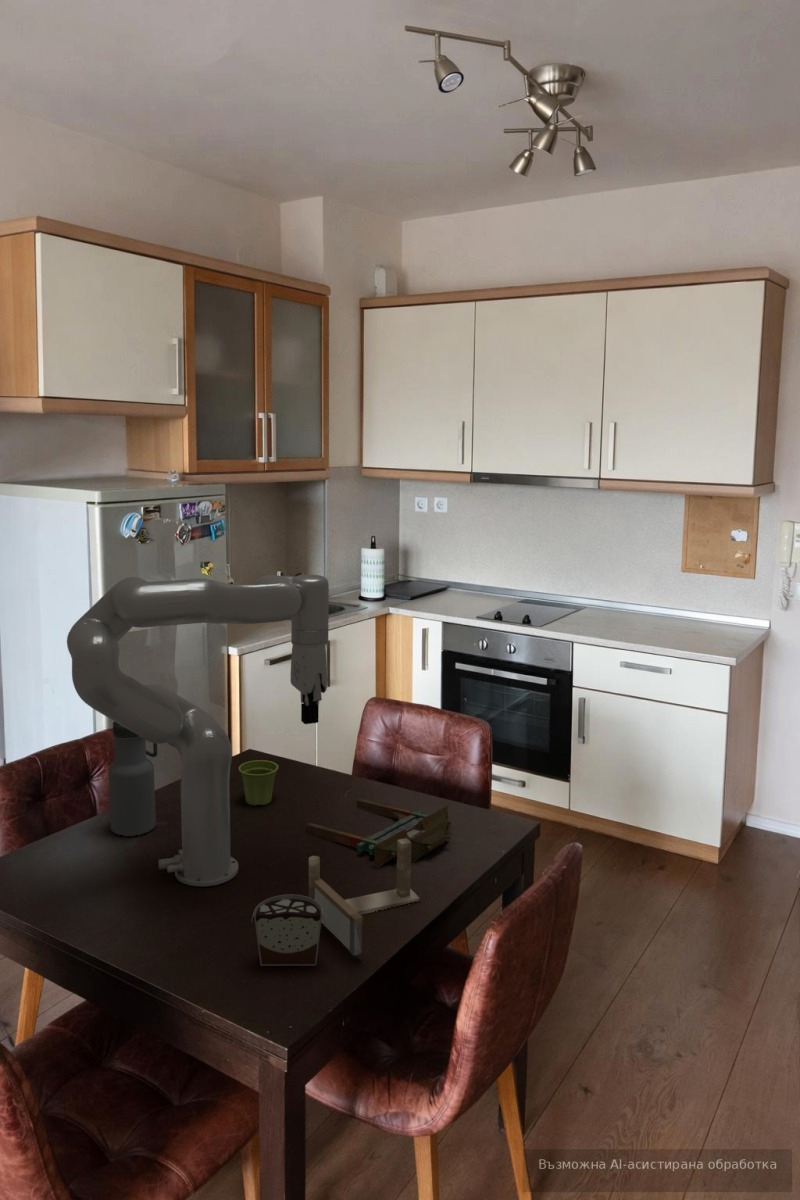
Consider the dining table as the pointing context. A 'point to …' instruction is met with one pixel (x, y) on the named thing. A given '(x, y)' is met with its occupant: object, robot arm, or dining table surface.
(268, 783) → the plant pot
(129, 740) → the water bottle
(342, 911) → the panel
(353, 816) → the dining table surface
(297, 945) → the food container
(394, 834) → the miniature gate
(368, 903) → the gate frame
